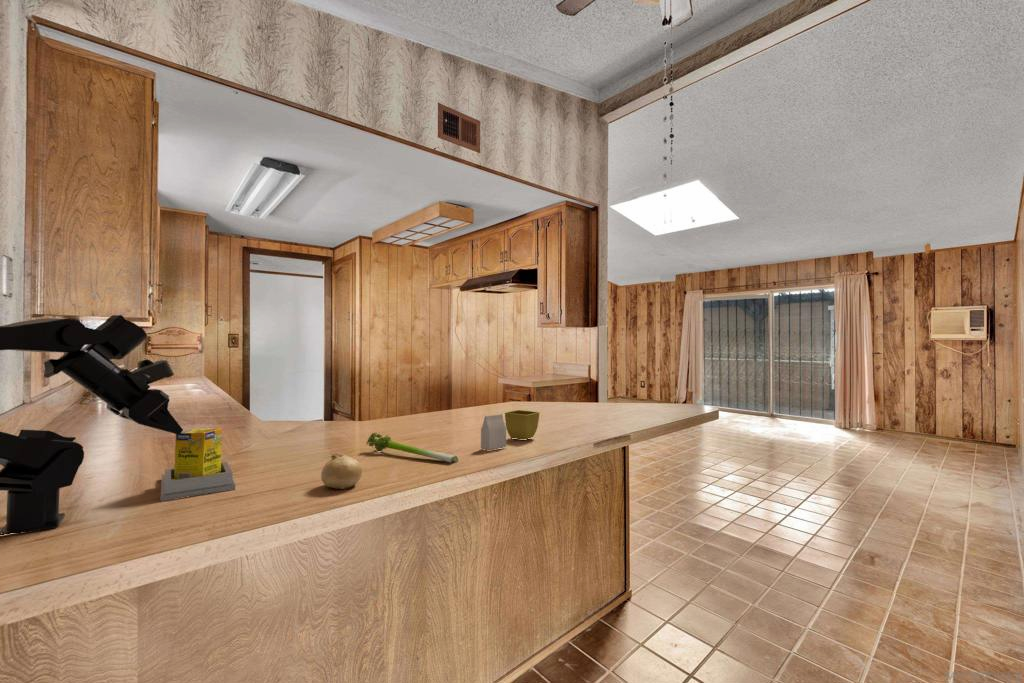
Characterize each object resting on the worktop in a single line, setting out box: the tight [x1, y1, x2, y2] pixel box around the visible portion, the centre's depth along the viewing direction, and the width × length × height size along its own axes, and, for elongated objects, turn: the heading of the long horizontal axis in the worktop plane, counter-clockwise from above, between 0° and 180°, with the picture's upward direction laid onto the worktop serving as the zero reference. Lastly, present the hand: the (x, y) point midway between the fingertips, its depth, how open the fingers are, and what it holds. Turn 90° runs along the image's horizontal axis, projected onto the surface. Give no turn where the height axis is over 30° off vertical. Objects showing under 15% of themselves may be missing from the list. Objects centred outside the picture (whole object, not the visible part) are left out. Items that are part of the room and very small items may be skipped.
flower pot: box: [504, 409, 541, 439], centre depth 144 cm, size 9×9×9 cm
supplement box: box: [174, 427, 223, 479], centre depth 91 cm, size 6×6×11 cm
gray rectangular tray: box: [160, 461, 236, 502], centre depth 93 cm, size 18×12×4 cm, turn 38°
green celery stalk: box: [365, 432, 459, 463], centre depth 120 cm, size 6×7×30 cm
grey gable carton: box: [480, 413, 507, 451], centre depth 130 cm, size 4×7×10 cm, turn 135°
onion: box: [320, 452, 363, 490], centre depth 93 cm, size 8×8×7 cm
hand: (173, 429), depth 87 cm, fingers open, 9 cm apart
